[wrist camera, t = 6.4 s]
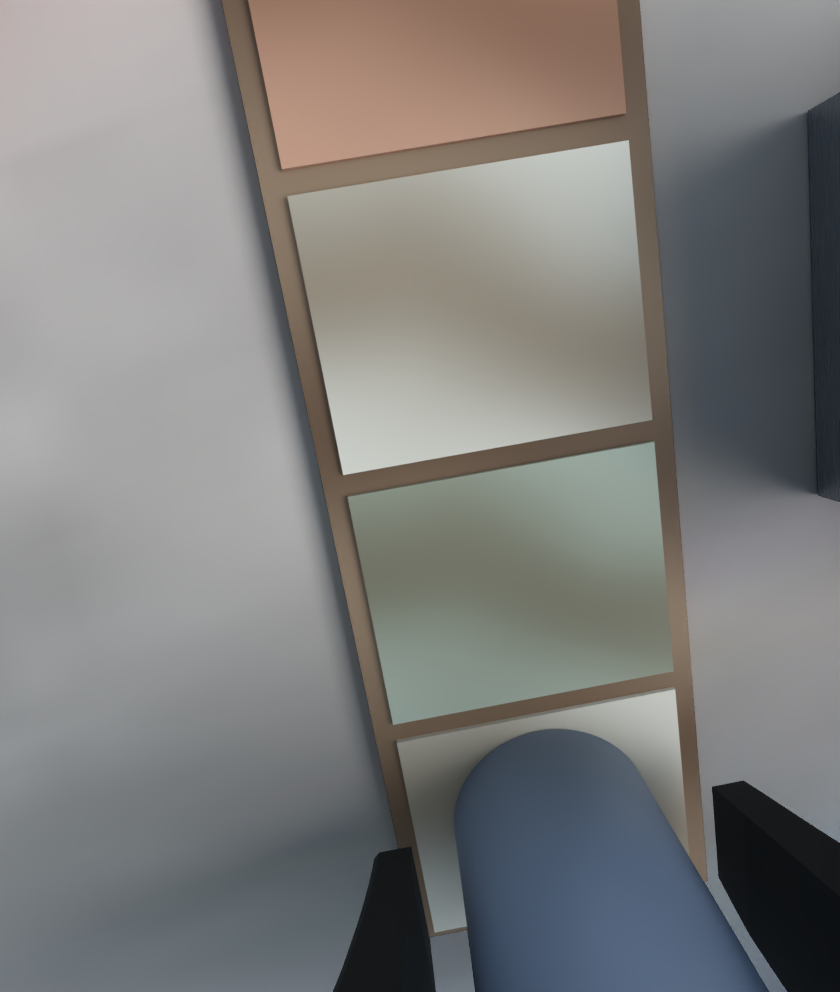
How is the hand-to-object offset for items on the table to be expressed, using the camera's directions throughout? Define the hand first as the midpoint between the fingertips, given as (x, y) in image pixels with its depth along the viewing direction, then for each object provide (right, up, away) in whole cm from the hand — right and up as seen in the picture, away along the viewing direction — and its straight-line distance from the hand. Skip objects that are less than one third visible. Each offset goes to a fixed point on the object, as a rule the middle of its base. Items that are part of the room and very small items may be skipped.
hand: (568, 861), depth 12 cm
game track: (-1, +8, 0) cm, 8 cm away
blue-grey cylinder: (0, 0, +1) cm, 1 cm away
